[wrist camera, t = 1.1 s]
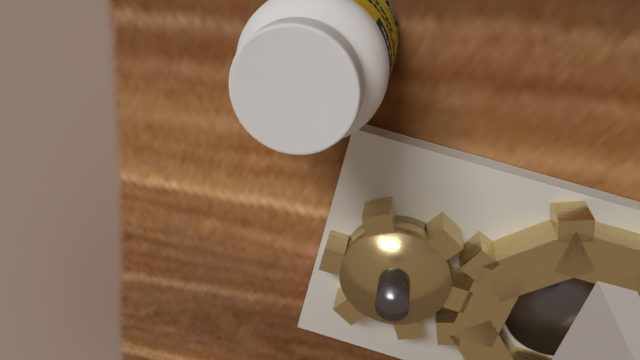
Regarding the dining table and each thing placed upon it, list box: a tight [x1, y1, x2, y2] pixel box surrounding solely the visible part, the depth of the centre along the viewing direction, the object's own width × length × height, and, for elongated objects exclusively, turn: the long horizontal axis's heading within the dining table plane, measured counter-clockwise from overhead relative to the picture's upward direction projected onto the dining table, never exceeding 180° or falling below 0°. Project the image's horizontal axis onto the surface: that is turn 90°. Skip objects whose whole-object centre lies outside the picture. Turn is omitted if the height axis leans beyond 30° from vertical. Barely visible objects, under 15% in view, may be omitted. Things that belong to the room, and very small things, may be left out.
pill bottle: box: [229, 0, 399, 155], centre depth 23 cm, size 6×6×11 cm
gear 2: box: [436, 201, 640, 360], centre depth 30 cm, size 14×14×2 cm
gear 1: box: [319, 197, 473, 340], centre depth 30 cm, size 8×9×4 cm
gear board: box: [298, 124, 640, 360], centre depth 32 cm, size 15×24×1 cm, turn 77°
